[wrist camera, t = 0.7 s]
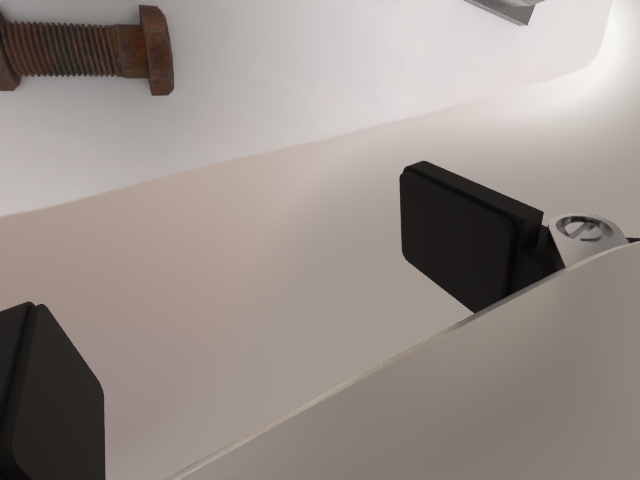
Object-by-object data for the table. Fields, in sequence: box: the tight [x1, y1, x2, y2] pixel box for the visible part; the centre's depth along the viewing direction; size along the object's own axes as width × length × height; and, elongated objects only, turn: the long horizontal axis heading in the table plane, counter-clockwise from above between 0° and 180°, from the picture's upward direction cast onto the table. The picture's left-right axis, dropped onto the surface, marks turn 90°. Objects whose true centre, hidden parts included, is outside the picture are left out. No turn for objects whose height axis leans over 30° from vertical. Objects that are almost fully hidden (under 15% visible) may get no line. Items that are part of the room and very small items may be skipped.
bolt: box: [0, 5, 174, 96], centre depth 26 cm, size 6×5×15 cm
